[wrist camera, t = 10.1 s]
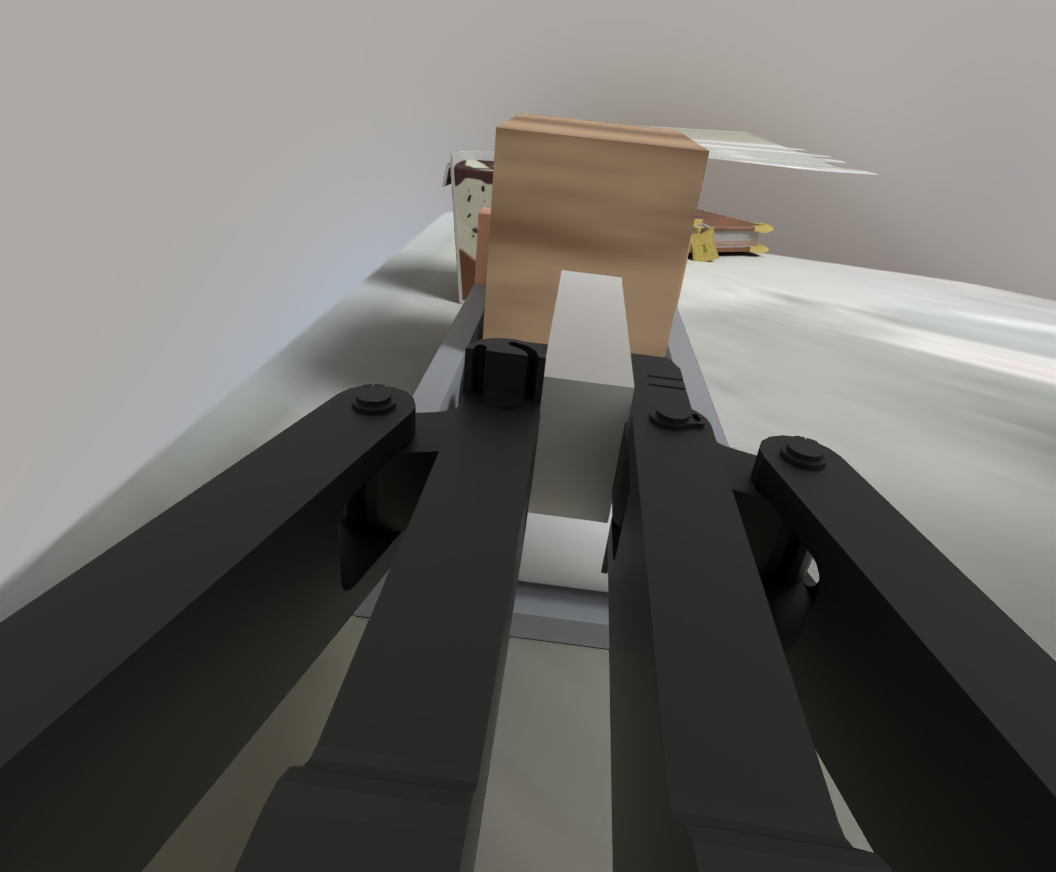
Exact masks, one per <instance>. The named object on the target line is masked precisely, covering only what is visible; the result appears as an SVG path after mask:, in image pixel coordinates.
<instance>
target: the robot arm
mask: <svg viewBox="0 0 1056 872" xmlns="http://www.w3.org/2000/svg"><path fill="white" fill-rule="evenodd" d="M611 505H612V519H611V524H610V529H609V534H608V539H607V544H606V549H605V554H604V559H603V564H602V569H601V573H605V574H607V572H608V604H609V664H610V724H611V783H612V843H613V872H1056V661H1055V660H1054V659H1052V658H1051V657H1050V656H1049V655H1048V654H1047V653H1046V652H1045V651H1044V650H1043V649H1042V648H1041V647H1040V646H1039V645H1038V644H1037V643H1036V642H1035V641H1034V640H1033V639H1032V638H1030V637H1029V636H1028V635H1027V634H1026V633H1025V632H1024V631H1023V630H1022V629H1021V628H1020V627H1019V626H1018V625H1017V624H1016V623H1015V622H1014V621H1013V620H1012V619H1011V618H1009V617H1008V616H1007V615H1006V614H1005V613H1004V612H1003V611H1002V610H1001V609H1000V608H999V607H998V606H997V605H996V604H995V603H994V602H993V601H992V600H991V599H990V598H989V597H987V596H986V595H985V594H984V593H983V592H982V591H981V590H980V589H979V588H978V587H977V586H976V585H975V584H974V583H973V582H972V581H971V580H970V579H969V578H968V577H967V576H965V575H964V574H963V573H962V572H961V571H960V570H959V569H958V568H957V567H956V566H955V565H954V564H953V563H952V562H951V561H950V560H949V559H948V558H947V557H946V556H944V555H943V554H942V553H941V552H940V551H939V550H938V549H937V548H936V547H935V546H934V545H933V544H932V543H931V542H930V541H929V540H928V539H927V538H926V537H925V536H924V535H922V534H921V533H920V532H919V531H918V530H917V529H916V528H915V527H914V526H913V525H912V524H911V523H910V522H909V521H908V520H907V519H906V518H905V517H904V516H903V515H901V514H900V513H899V512H898V511H897V510H896V509H895V508H894V507H893V506H892V505H891V504H890V503H889V502H888V501H887V500H886V499H885V498H884V497H883V496H882V495H881V494H879V493H878V492H877V491H876V490H875V489H874V488H873V487H872V486H871V485H870V484H869V483H868V482H867V481H866V480H865V479H864V478H863V477H862V476H861V475H860V474H858V473H857V472H856V471H855V470H854V469H853V468H852V467H851V466H850V465H849V464H848V463H847V462H846V461H845V460H844V459H843V458H842V457H841V456H839V455H838V454H836V453H835V452H834V451H832V450H831V449H829V448H827V447H825V446H823V445H821V444H818V442H817V441H815V440H812V439H809V438H807V439H805V437H800V436H794V437H792V436H783V435H782V436H772V437H768V438H767V439H765V440H763V441H762V442H761V445H760V448H759V451H758V454H757V456H756V455H753V454H749V453H746V452H742V451H739V450H735V449H733V448H730V447H727V446H724V445H722V444H720V443H718V442H717V441H716V438H715V435H714V432H713V429H712V425H711V424H710V422H709V421H708V420H707V418H706V417H704V416H703V415H701V414H700V413H698V412H697V411H695V410H692V408H691V405H690V401H689V397H688V394H687V391H686V387H685V383H684V381H683V376H682V373H681V369H680V368H679V367H678V366H677V365H676V364H675V363H673V362H672V361H671V360H670V359H669V358H666V357H658V356H650V355H643V354H635V353H630V345H629V337H628V328H627V320H626V311H625V303H624V295H623V286H622V278H621V277H614V276H606V275H598V274H589V273H581V272H573V271H565V270H562V272H561V277H560V283H559V288H558V294H557V299H556V305H555V310H554V316H553V321H552V326H551V332H550V337H549V343H548V344H541V343H533V342H525V341H520V340H515V339H508V338H489V339H481V340H478V341H475V342H472V343H470V344H469V345H468V346H467V347H466V348H465V366H464V385H463V395H462V397H461V400H460V402H459V405H458V407H457V408H455V409H450V410H446V411H439V412H422V413H416V405H415V401H414V398H413V397H412V396H410V395H409V394H408V393H407V392H405V391H402V390H399V389H397V388H393V387H387V386H384V385H379V384H374V386H372V384H369V385H362V386H360V387H356V388H351V389H348V390H345V391H343V392H341V393H339V394H337V395H336V396H334V397H333V398H331V399H330V400H328V401H327V402H325V403H324V404H322V405H321V406H319V407H318V408H316V409H315V410H314V411H312V412H311V413H309V414H308V415H306V416H305V417H303V418H302V419H300V420H299V421H297V422H296V423H294V424H293V425H291V426H290V427H288V428H287V429H285V430H284V431H283V432H281V433H280V434H278V435H277V436H275V437H274V438H272V439H271V440H269V441H268V442H266V443H265V444H263V445H262V446H260V447H259V448H257V449H256V450H255V451H253V452H252V453H250V454H249V455H247V456H246V457H244V458H243V459H241V460H240V461H238V462H237V463H235V464H234V465H232V466H231V467H229V468H228V469H226V470H225V471H224V472H222V473H221V474H219V475H218V476H216V477H215V478H213V479H212V480H210V481H209V482H207V483H206V484H204V485H203V486H201V487H200V488H198V489H197V490H195V491H194V492H193V493H191V494H190V495H188V496H187V497H185V498H184V499H182V500H181V501H179V502H178V503H176V504H175V505H173V506H172V507H170V508H169V509H167V510H166V511H165V512H163V513H162V514H160V515H159V516H157V517H156V518H154V519H153V520H151V521H150V522H148V523H147V524H145V525H144V526H142V527H141V528H139V529H138V530H136V531H135V532H134V533H132V534H131V535H129V536H128V537H126V538H125V539H123V540H122V541H120V542H119V543H117V544H116V545H114V546H113V547H111V548H110V549H108V550H107V551H106V552H104V553H103V554H101V555H100V556H98V557H97V558H95V559H94V560H92V561H91V562H89V563H88V564H86V565H85V566H83V567H82V568H80V569H79V570H77V571H76V572H75V573H73V574H72V575H70V576H69V577H67V578H66V579H64V580H63V581H61V582H60V583H58V584H57V585H55V586H54V587H52V588H51V589H49V590H48V591H46V592H45V593H44V594H42V595H41V596H39V597H38V598H36V599H35V600H33V601H32V602H30V603H29V604H27V605H26V606H24V607H23V608H21V609H20V610H18V611H17V612H16V613H14V614H13V615H11V616H10V617H8V618H7V619H5V620H4V621H2V622H1V623H0V872H142V870H143V869H144V868H145V867H146V865H147V864H148V863H149V862H150V861H151V859H152V858H153V857H154V856H155V854H156V853H157V852H158V851H159V850H160V848H161V847H162V846H163V845H164V843H165V842H166V841H167V840H168V839H169V837H170V836H171V835H172V834H173V833H174V831H175V830H176V829H177V828H178V826H179V825H180V824H181V823H182V822H183V820H184V819H185V818H186V817H187V815H188V814H189V813H190V812H191V811H192V809H193V808H194V807H195V806H196V804H197V803H198V802H199V801H200V800H201V798H202V797H203V796H204V795H205V794H206V792H207V791H208V790H209V789H210V787H211V786H212V785H213V784H214V783H215V781H216V780H217V779H218V778H219V776H220V775H221V774H222V773H223V772H224V770H225V769H226V768H227V767H228V765H229V764H230V763H231V762H232V761H233V759H234V758H235V757H236V756H237V755H238V753H239V752H240V751H241V750H242V748H243V747H244V746H245V745H246V744H247V742H248V741H249V740H250V739H251V737H252V736H253V735H254V734H255V733H256V731H257V730H258V729H259V728H260V726H261V725H262V724H263V723H264V722H265V720H266V719H267V718H268V717H269V716H270V714H271V713H272V712H273V711H274V709H275V708H276V707H277V706H278V705H279V703H280V702H281V701H282V700H283V698H284V697H285V696H286V695H287V694H288V692H289V691H290V690H291V689H292V687H293V686H294V685H295V684H296V683H297V681H298V680H299V679H300V678H301V677H302V675H303V674H304V673H305V672H306V670H307V669H308V668H309V667H310V666H311V664H312V663H313V662H314V661H315V659H316V658H317V657H318V656H319V655H320V653H321V652H322V651H323V650H324V649H325V647H326V646H327V645H328V644H329V642H330V641H331V640H332V639H333V638H334V636H335V635H336V634H337V633H338V631H339V630H340V629H341V628H342V627H343V625H344V624H345V623H346V622H347V620H348V619H349V618H350V617H351V616H352V614H353V613H354V612H355V611H356V610H357V608H358V607H359V606H360V605H361V603H362V602H363V601H364V600H365V599H366V597H367V596H368V595H369V594H370V592H371V591H372V590H373V589H374V588H375V586H376V585H377V584H378V583H379V581H380V580H381V579H382V578H383V577H384V575H385V574H386V573H387V572H388V571H389V569H390V571H389V573H388V575H387V578H386V580H385V583H384V585H383V587H382V590H381V592H380V595H379V597H378V600H377V602H376V604H375V607H374V609H373V612H372V614H371V616H370V619H369V621H368V624H367V626H366V628H365V631H364V633H363V636H362V638H361V640H360V643H359V645H358V648H357V650H356V652H355V655H354V657H353V660H352V662H351V664H350V667H349V669H348V672H347V674H346V677H345V679H344V681H343V684H342V686H341V689H340V691H339V693H338V696H337V698H336V701H335V703H334V705H333V708H332V710H331V713H330V715H329V717H328V720H327V722H326V725H325V727H324V729H323V732H322V734H321V737H320V739H319V741H318V744H317V746H316V748H315V750H314V752H313V754H312V756H311V758H310V759H309V761H308V762H307V763H306V764H305V765H304V766H292V767H289V768H288V770H287V771H286V772H285V773H284V774H283V775H282V776H281V777H280V779H279V780H278V781H277V783H276V785H275V787H274V789H273V790H272V792H271V794H270V796H269V798H268V800H267V802H266V803H265V805H264V807H263V809H262V812H261V814H260V816H259V818H258V820H257V823H256V825H255V827H254V829H253V831H252V834H251V836H250V838H249V840H248V842H247V845H246V847H245V849H244V851H243V853H242V856H241V858H240V860H239V862H238V864H237V867H236V869H235V871H234V872H473V871H474V864H475V857H476V851H477V844H478V838H479V831H480V825H481V818H482V812H483V805H484V799H485V792H486V786H487V779H488V773H489V766H490V760H491V753H492V747H493V740H494V734H495V727H496V721H497V714H498V708H499V701H500V694H501V688H502V681H503V675H504V668H505V662H506V655H507V649H508V642H509V636H510V629H511V623H512V616H513V610H514V603H515V597H516V590H517V584H518V577H519V571H520V564H521V558H522V551H523V545H524V538H525V531H526V524H527V515H528V512H529V513H536V514H544V515H551V516H559V517H566V518H573V519H581V520H588V521H596V522H603V523H608V520H609V515H610V510H611ZM812 558H814V560H815V562H816V564H817V568H818V571H819V581H818V583H816V582H815V581H814V580H813V579H812V577H811V576H810V575H809V573H808V572H807V570H808V568H809V566H810V563H811V561H812ZM815 750H816V751H817V753H818V755H819V757H820V758H821V760H822V762H823V764H824V765H825V767H826V769H827V771H828V772H829V774H830V776H831V778H832V779H833V781H834V783H835V785H836V786H837V788H838V790H839V792H840V793H841V795H842V797H843V799H844V800H845V802H846V804H847V806H848V808H849V809H850V811H851V813H852V815H853V816H854V818H855V820H856V822H857V823H858V825H859V827H860V829H861V830H862V832H863V834H864V836H865V837H866V839H867V841H868V843H869V844H870V846H871V848H872V850H873V851H874V853H872V852H868V851H864V850H860V849H857V848H853V846H852V845H851V844H850V843H849V842H848V841H847V839H846V838H845V836H844V834H843V832H842V829H841V827H840V825H839V823H838V820H837V817H836V813H835V810H834V807H833V804H832V801H831V798H830V795H829V791H828V788H827V785H826V782H825V779H824V776H823V773H822V770H821V766H820V763H819V760H818V757H817V754H816V751H815Z"/></svg>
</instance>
